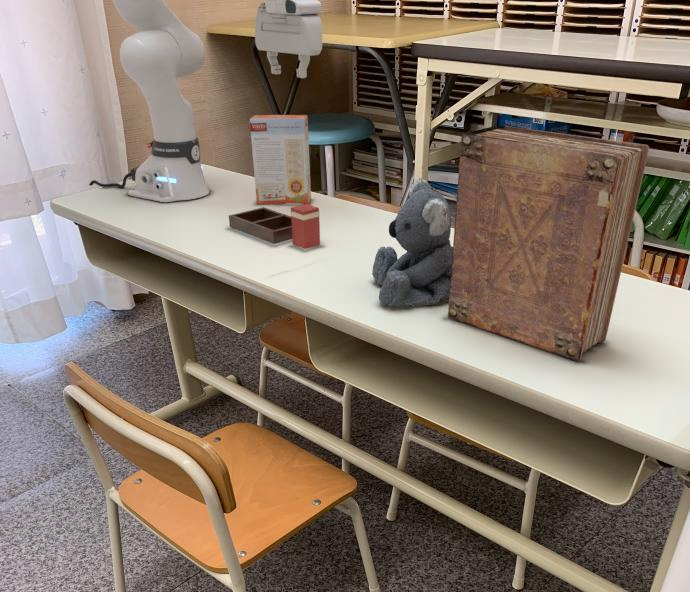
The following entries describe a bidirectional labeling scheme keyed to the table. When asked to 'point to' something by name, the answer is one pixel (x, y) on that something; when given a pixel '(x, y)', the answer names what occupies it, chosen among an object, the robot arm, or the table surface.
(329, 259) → the table surface
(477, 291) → the book
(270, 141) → the cracker box
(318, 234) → the carton
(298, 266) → the table surface
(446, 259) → the koala plush
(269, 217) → the organiser
